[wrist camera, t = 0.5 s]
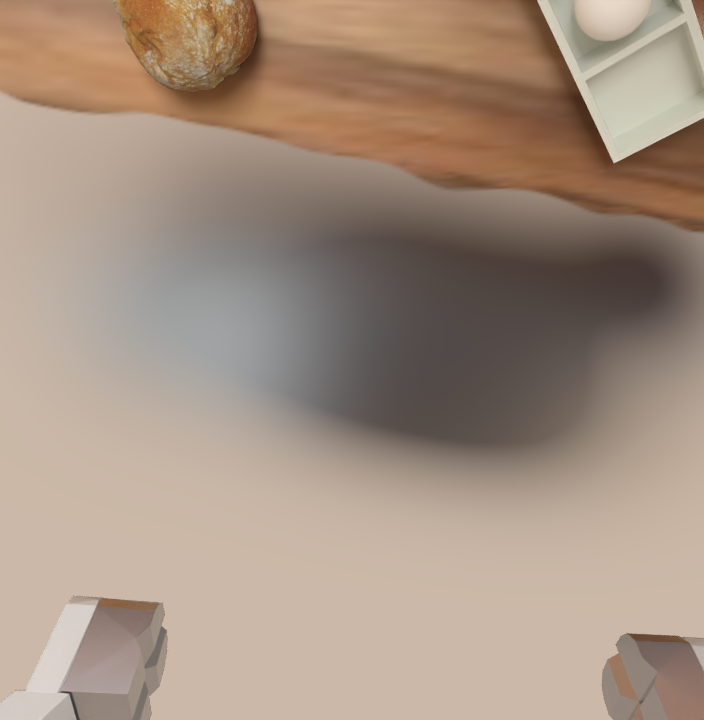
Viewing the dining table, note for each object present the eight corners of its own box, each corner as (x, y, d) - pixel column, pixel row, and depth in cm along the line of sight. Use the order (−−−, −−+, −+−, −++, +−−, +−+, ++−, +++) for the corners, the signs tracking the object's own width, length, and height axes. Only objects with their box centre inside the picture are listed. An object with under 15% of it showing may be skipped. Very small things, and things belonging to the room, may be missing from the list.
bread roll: (204, 70, 54) (217, 135, 50) (88, 6, 47) (93, 78, 43) (270, -22, 48) (290, 45, 45) (149, -111, 41) (161, -39, 38)
